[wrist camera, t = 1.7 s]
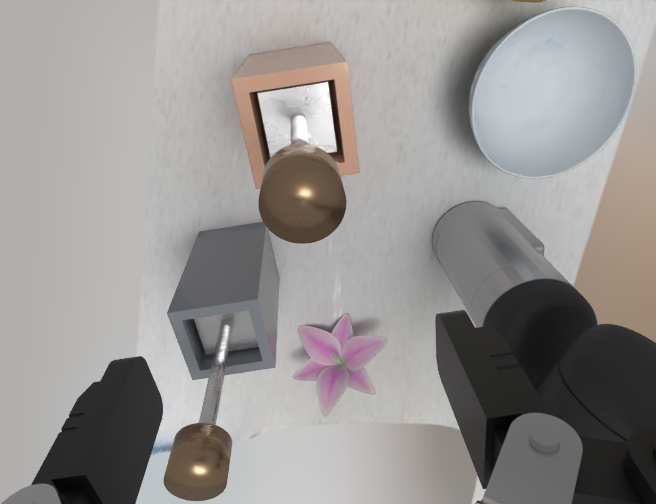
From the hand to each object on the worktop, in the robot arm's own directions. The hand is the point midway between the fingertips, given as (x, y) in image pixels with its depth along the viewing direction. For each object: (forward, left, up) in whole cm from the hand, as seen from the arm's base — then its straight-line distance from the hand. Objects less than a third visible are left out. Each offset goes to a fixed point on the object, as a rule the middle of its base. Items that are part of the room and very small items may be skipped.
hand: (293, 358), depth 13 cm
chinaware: (-23, +3, -40) cm, 47 cm away
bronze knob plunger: (0, 0, -26) cm, 26 cm away
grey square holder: (+10, +18, -40) cm, 45 cm away
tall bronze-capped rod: (+10, +18, -26) cm, 33 cm away
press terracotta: (0, 0, -40) cm, 40 cm away
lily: (0, +32, -40) cm, 52 cm away
